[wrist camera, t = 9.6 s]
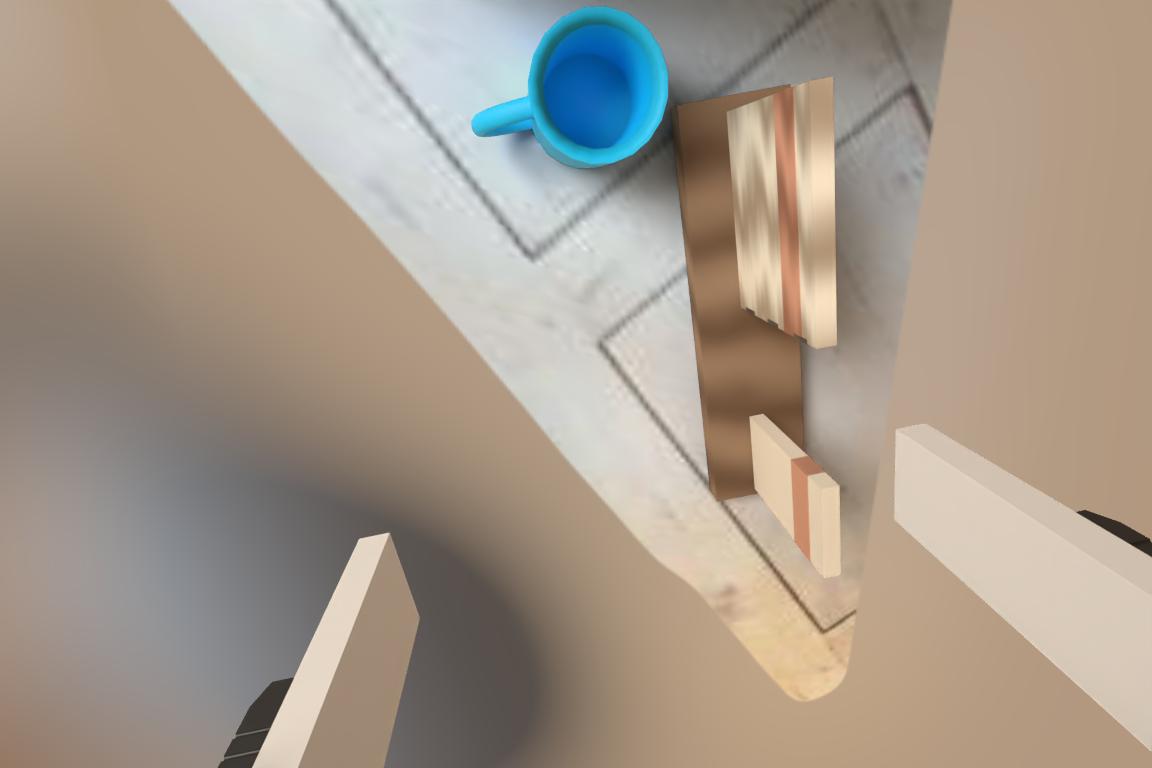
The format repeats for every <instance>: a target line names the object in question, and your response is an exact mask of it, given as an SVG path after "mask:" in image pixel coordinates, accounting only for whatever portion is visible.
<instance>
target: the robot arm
mask: <svg viewBox="0 0 1152 768" xmlns="http://www.w3.org/2000/svg"><path fill="white" fill-rule="evenodd" d="M895 452H896V453H895V496H894V520H895V521H896V522H898V524H900V525H901V526H902V527H903V528H904V529H905V530H906V531H907V532H908V533H910V534H911V535H912V536H913V537H914V538H915V539H916V540H917V541H918V542H920V543H921V544H922V545H923V546H924V547H925V548H926V549H927V550H928V551H930V552H931V553H932V554H933V555H934V556H935V557H936V558H937V559H938V560H939V561H941V562H942V563H943V564H944V565H945V566H946V567H947V568H948V569H949V570H951V571H952V572H953V573H954V574H955V575H956V576H957V577H958V578H959V579H961V580H962V581H963V582H964V583H965V584H966V585H967V586H969V588H971V589H972V590H973V591H974V592H975V593H976V594H977V595H978V596H979V597H981V598H982V599H983V600H984V601H985V602H986V603H987V604H989V605H990V607H992V608H993V609H994V610H995V611H996V612H997V613H998V614H999V615H1000V616H1002V617H1003V618H1004V619H1005V620H1006V621H1007V622H1008V623H1009V624H1010V625H1012V626H1013V627H1014V628H1015V629H1016V630H1017V631H1018V632H1019V633H1020V634H1022V635H1023V636H1024V637H1025V638H1026V639H1027V640H1028V641H1029V642H1031V643H1032V644H1033V645H1034V646H1035V647H1036V648H1037V649H1038V650H1039V651H1040V652H1042V653H1043V654H1044V655H1045V656H1046V657H1047V658H1048V659H1049V660H1050V661H1052V662H1053V663H1054V664H1055V665H1056V666H1057V667H1058V668H1059V669H1061V671H1063V672H1064V673H1065V674H1066V675H1067V676H1068V677H1069V678H1070V679H1072V680H1073V681H1074V682H1075V683H1076V684H1077V685H1078V686H1079V687H1080V688H1081V689H1083V690H1084V691H1085V692H1086V693H1087V694H1088V695H1089V696H1090V697H1091V698H1093V699H1094V700H1095V701H1096V702H1097V703H1098V704H1099V705H1100V706H1101V707H1102V708H1104V709H1105V710H1106V711H1107V712H1108V713H1109V714H1110V715H1111V716H1113V717H1114V718H1115V719H1116V720H1117V721H1118V722H1119V723H1120V724H1121V725H1122V726H1124V727H1125V728H1126V729H1127V730H1128V731H1129V732H1130V733H1131V734H1132V735H1134V736H1135V737H1136V738H1137V739H1138V740H1139V741H1140V742H1141V743H1142V744H1144V745H1145V746H1146V747H1147V748H1148V749H1149V750H1150V751H1152V543H1151V541H1150V539H1149V538H1147V537H1145V536H1144V535H1142V534H1140V533H1138V532H1136V531H1135V530H1133V529H1131V528H1129V527H1128V526H1126V525H1124V524H1122V523H1121V522H1118V521H1115V520H1112V519H1109V518H1106V517H1104V516H1101V515H1098V514H1095V513H1092V512H1089V511H1086V510H1083V511H1079V512H1074V511H1073V510H1071V509H1069V508H1068V507H1066V506H1064V505H1062V504H1061V503H1059V502H1057V501H1056V500H1054V499H1052V498H1051V497H1049V496H1047V495H1045V494H1044V493H1042V492H1040V491H1039V490H1037V489H1035V488H1034V487H1032V486H1030V485H1028V484H1027V483H1025V482H1023V481H1022V480H1020V479H1018V478H1017V477H1015V476H1013V475H1012V474H1010V473H1008V472H1006V471H1005V470H1003V469H1001V468H1000V467H998V466H996V465H995V464H993V463H991V462H990V461H988V460H986V459H985V458H983V457H981V456H979V455H978V454H976V453H975V452H973V451H971V450H969V449H968V448H966V447H964V446H963V445H961V444H959V443H958V442H956V441H954V440H953V439H951V438H949V437H947V436H946V435H944V434H942V433H941V432H939V431H937V430H936V429H934V428H932V427H931V426H929V425H927V424H925V423H923V424H919V425H913V426H909V427H904V428H899V429H896V450H895ZM418 623H419V615H418V612H417V609H416V606H415V604H414V601H413V598H412V595H411V592H410V589H409V586H408V584H407V581H406V578H405V575H404V573H403V569H402V567H401V564H400V561H399V558H398V556H397V552H396V550H395V547H394V544H393V541H392V538H391V535H390V533H386V534H381V535H376V536H371V537H366V538H362V539H359V541H358V543H357V545H356V548H355V549H354V552H353V554H352V556H351V558H350V560H349V562H348V564H347V566H346V569H345V571H344V573H343V575H342V577H341V579H340V581H339V584H338V586H337V588H336V590H335V592H334V594H333V596H332V598H331V601H330V603H329V605H328V607H327V609H326V611H325V614H324V615H323V618H322V620H321V622H320V624H319V626H318V628H317V631H316V633H315V635H314V637H313V639H312V641H311V644H310V645H309V647H308V650H307V652H306V654H305V656H304V658H303V660H302V662H301V665H300V667H299V669H298V671H297V673H296V675H295V677H294V678H289V679H284V680H280V681H275V682H272V683H271V684H270V685H269V686H268V687H267V688H266V689H265V691H264V692H263V693H262V694H261V695H260V696H259V697H258V699H257V700H256V701H255V702H254V703H253V704H252V705H251V706H250V708H249V710H248V711H247V713H246V715H245V717H244V719H243V721H242V723H241V725H240V727H239V728H238V730H237V732H236V738H235V739H233V740H232V742H231V744H230V746H229V747H228V749H227V751H226V753H225V755H224V761H222V762H221V763H220V765H219V766H218V768H383V767H384V763H385V759H386V755H387V750H388V746H389V741H390V738H391V734H392V730H393V726H394V721H395V717H396V713H397V709H398V705H399V701H400V697H401V693H402V688H403V685H404V680H405V676H406V672H407V668H408V663H409V660H410V656H411V652H412V647H413V643H414V639H415V635H416V631H417V627H418Z"/></svg>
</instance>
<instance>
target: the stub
mask: <svg viewBox="0 0 1152 768" xmlns="http://www.w3.org/2000/svg"><path fill="white" fill-rule="evenodd" d="M749 418H750V432H751V445H752V459H753V473H754V486H755V490H756V491H757V492H758V493H759V495H760V496H761V497H762V499H763V500H764V501H765V503H766V504H767V505H768V506H769V508H770V509H771V510H772V512H773V513H774V514H775V516H776V517H777V518H778V520H779V521H780V522H781V523H782V525H783V526H784V527H785V529H786V530H787V531H788V533H789V534H790V535H791V536H792V538H793V539H794V541H795V543H796V544H797V545H798V547H799V548H800V549H801V551H802V552H803V553H804V554H805V556H806V557H807V558H808V560H809V561H810V562H811V563H812V564H813V565H814V566H815V568H816V569H817V570H818V572H819V573H820V574H821V576H822V577H823V578H827V577H832V576H837V575H841V560H840V486H839V485H838V484H837V483H836V482H835V481H834V480H833V479H832V478H831V477H830V476H829V475H828V474H827V473H826V472H825V471H824V470H823V469H822V468H821V467H820V466H819V465H818V464H817V463H816V462H815V461H814V460H813V459H812V458H811V457H809V456H808V455H807V454H805V453H804V452H803V451H802V450H801V449H800V448H799V447H798V446H797V445H796V444H795V443H794V442H793V441H792V440H791V439H790V438H789V437H787V436H786V435H785V434H784V433H783V432H782V431H781V430H780V429H779V428H778V427H777V426H776V425H775V424H774V423H773V422H772V421H771V420H769V419H768V418H767V417H766V416H765V415H764V414H759V415H754V416H749Z"/></svg>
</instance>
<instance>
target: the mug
mask: <svg viewBox="0 0 1152 768" xmlns="http://www.w3.org/2000/svg"><path fill="white" fill-rule="evenodd" d="M667 99H668V71H667V67H666V64H665V61H664V57H663V54H662V50H661V48H660V46H659V45H658V43H657V42H656V40H655V39H654V37H653V36H652V34H651V33H650V31H649V30H648V28H647V27H645V26H644V25H643V24H642V23H640V22H639V21H638V20H636V19H635V18H634V17H633V16H631V15H630V14H629V13H626V12H623V11H619V10H616V9H613V8H610V7H607V6H605V7H585V8H582V9H580V10H577V11H575V12H573V13H570V14H568V15H566V16H564V17H562V18H561V19H560V20H559V21H558V22H557V23H556V24H555V25H554V26H553V27H551V28H550V29H549V30H548V31H547V32H546V33H545V35H544V36H543V38H542V40H541V42H540V44H539V46H538V48H537V49H536V51H535V53H534V55H533V59H532V64H531V69H530V74H529V79H528V96H527V97H523V98H519V99H516V100H512V101H509V102H506V103H502V104H499V105H497V106H494V107H491V108H488V109H486V110H484V111H482V112H480V113H478V114H476V115H475V116H474V118H473V119H472V124H471V125H472V129H473V132H474V133H475V134H476V135H477V136H480V137H491V136H499V135H505V134H510V133H515V132H520V131H525V130H530V129H532V130H533V132H534V135H535V137H536V140H537V141H538V142H539V143H540V145H541V146H542V147H543V148H544V150H545V151H546V152H547V154H549V155H550V156H552V157H553V158H554V159H556V160H557V161H559V162H560V163H562V164H564V165H568V166H571V167H575V168H579V169H583V168H597V167H601V166H604V165H608V164H611V163H614V162H617V161H619V160H621V159H624V158H626V157H628V156H631V155H633V154H634V153H635V152H636V151H638V150H639V149H640V148H641V147H642V146H643V145H644V144H646V143H647V142H648V141H649V140H650V138H651V137H652V135H653V134H654V132H655V130H656V129H657V127H658V125H659V124H660V122H661V121H662V118H663V114H664V110H665V107H666V103H667Z"/></svg>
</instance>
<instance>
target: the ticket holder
mask: <svg viewBox="0 0 1152 768" xmlns="http://www.w3.org/2000/svg"><path fill="white" fill-rule="evenodd" d="M670 113H671V122H672V132H673V141H674V151H675V160H676V170H677V180H678V189H679V199H680V208H681V218H682V227H683V237H684V246H685V256H686V265H687V275H688V284H689V294H690V303H691V313H692V322H693V332H694V341H695V351H696V360H697V370H698V379H699V389H700V398H701V408H702V417H703V427H704V436H705V446H706V456H707V465H708V475H709V484H710V491H711V492H712V494H713V495H714V497H715V499H716V500H717V501H722V500H727V499H732V498H737V497H742V496H747V495H751V494H756V493H758V492H757V491H756V490H755V486H754V473H753V459H752V445H751V432H750V418H749V416H754V415H759V414H764V415H765V416H766V417H767V418H768V419H769V420H771V421H772V422H773V423H774V424H775V425H776V426H777V427H778V428H779V429H780V430H781V431H782V432H783V433H784V434H785V435H786V436H787V437H789V438H790V439H791V440H792V441H793V442H794V443H795V444H796V445H797V446H798V447H799V448H800V449H801V450H802V451H803V452H804V440H803V413H802V386H801V359H800V341H802V342H804V343H806V344H808V345H810V346H812V347H814V348H815V349H820V348H826V347H831V346H836V345H837V317H836V242H835V167H834V92H833V77H827V78H822V79H816V80H811V81H808V82H805V83H802V84H800V85H797V86H794V87H791V88H790V84H789V85H783V86H778V87H772V88H767V89H762V90H756V91H751V92H745V93H740V94H734V95H729V96H724V97H718V98H713V99H707V100H702V101H696V102H691V103H686V104H680V105H676V106H675V107H673V108H671V109H670Z"/></svg>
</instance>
